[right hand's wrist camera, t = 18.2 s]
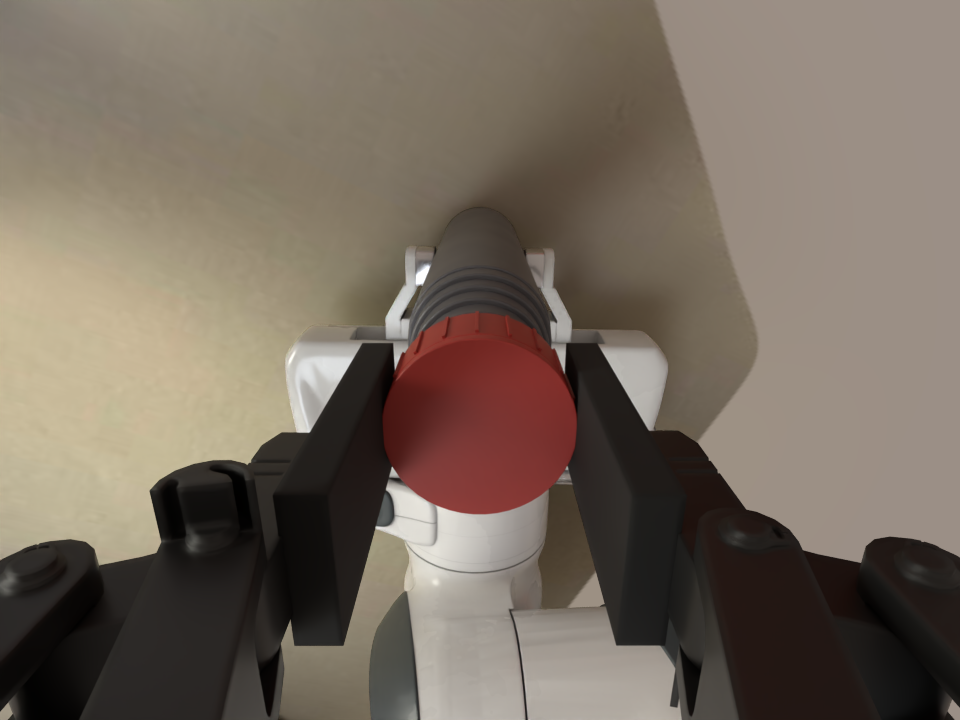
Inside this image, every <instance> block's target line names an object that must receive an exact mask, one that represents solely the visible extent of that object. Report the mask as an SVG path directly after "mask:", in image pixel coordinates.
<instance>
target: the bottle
mask: <svg viewBox="0 0 960 720" xmlns="http://www.w3.org/2000/svg"><path fill="white" fill-rule="evenodd" d="M475 311H479V313H489V314H497V315H501V316H505V317H506V315H509V317H510V318H511V319H514V320H516V321H519V322H521V323H523V324H524V325H526V326H528V327H530V328H531V329H533V328H535V329H536V331H537V333H538V334H539V335H540V336H541V337H542V338H543V339H544V340H545V341H546V342H547V343H548V344H549V346H550V347H551V344H552V338H551V325H550V319H549V315H548V312H547V309H546V306H545V304H544V301H543V299H542V297H541V294H540V292H539V289H538V287H537V284H536V282H535V279H534V277H533V274H532V272H531V269H530V267H529V265H528V262H527V260H526V257H525V255H524V252H523V250H522V247H521V245H520V242H519V240H518V237H517V235H516V233H515V230H514V228H513V226H512V225H511V223H510V222H509V221H508V220H507V218H506V217H504V216H503V215H502V214H500V213H499V212H497V211H495V210H492V209H489V208H483V207H477V208H471V209H467V210H465V211H463V212H461V213H459V214H458V215H457V216H455V217H454V218H453V219H452V220H451V221H450V223H449V224H448V226H447V227H446V229H445V232H444V234H443V237H442V239H441V242H440V244H439V247H438V249H437V251H436V254H435V256H434V259H433V261H432V264H431V266H430V269H429V271H428V273H427V276H426V278H425V281H424V283H423V286H422V288H421V291H420V293H419V296H418V298H417V300H416V303H415V305H414V308H413V310H412V313H411V317H410V321H409V330H408V348H409V346H410V345H411V344H412V342H413V341H414V340H415V339H416V338H417V337H418V336H419V333H420V332H421V331H423V332H424V331H426V330H427V329H428V328H430V327H431V326H433V325H435V324H437V323H439V322H441V321H443V320H445V317H448V316H449V318H451V317H454V316H458V315H462V314H470V313H475Z"/></svg>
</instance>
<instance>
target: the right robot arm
mask: <svg viewBox="0 0 960 720" xmlns="http://www.w3.org/2000/svg"><path fill="white" fill-rule="evenodd" d="M394 372H395V363H394V345H393V343H362V345H361V346H360V348H359V350H358V351H357V353H356V355H355V356H354V358H353V360H352V362H351V363H350V365H349V367H348V368H347V370H346V372H345V373H344V375H343V377H342V378H341V380H340V382H339V383H338V385H337V387H336V389H335V390H334V392H333V394H332V395H331V397H330V399H329V400H328V402H327V404H326V405H325V407H324V409H323V411H322V412H321V414H320V416H319V417H318V419H317V421H316V422H315V424H314V426H313V427H312V429H311V431H310V432H309V433H280V434H279V435H277V436H276V437H274V438H272V439H271V440H269V441H268V442H266V443H265V444H263V445H262V446H261V447H260V449H259V450H258V452H257V453H256V454H255V456H254V457H253V458H252V460H251V463H249V464H248V465H246V464H245V463H240V462H236V461H232V460H213V461H207V462H202V463H197V464H193V465H190V466H187V467H184V468H182V469H179V470H176V471H174V472H172V473H171V474H169V475H167V476H165V477H164V478H162V479H160V480H159V481H158V482H157V483H156V484H155V485H154V486H153V488H152V489H151V490H150V495H151V499H152V503H153V508H154V512H155V516H156V521H157V525H158V529H159V534H160V538H161V544H160V547H159V549H158V551H157V553H155V554H151V555H147V556H143V557H139V558H134V559H129V560H124V561H119V562H114V563H109V564H104V565H100V566H99V564H98V560H97V557H96V553H95V550H94V548H92V547H91V546H90V545H89V544H88V543H86V542H83V541H77V540H71V539H69V540H59V541H49V542H44V543H39V545H37V544H36V545H33V546H30V547H27V548H24V549H22V550H21V551H19V552H17V553H14V554H12V555H10V556H8V557H6V558H4V559H2V560H1V561H0V711H1V710H2V709H3V708H4V707H5V705H6V704H7V703H8V702H9V705H10V707H11V710H12V713H13V714H12V716H11V717H10V718H9V719H8V720H278V719H279V711H280V702H281V694H282V685H283V677H284V662H283V655H282V649H281V642H282V639H283V637H284V634H285V632H286V629H287V627H288V624H289V622H290V619H291V625H292V632H293V639H294V646H343V645H344V642H345V638H346V634H347V631H348V627H349V623H350V620H351V616H352V612H353V609H354V605H355V601H356V598H357V594H358V590H359V586H360V583H361V579H362V575H363V572H364V568H365V564H366V561H367V557H368V553H369V550H370V546H371V542H372V539H373V535H374V531H375V528H376V524H377V520H378V517H379V513H380V509H381V506H382V502H383V498H384V495H385V491H386V487H387V483H388V480H389V476H390V472H391V469H392V465H391V463H390V461H389V459H388V457H387V454H386V451H385V448H384V436H383V420H382V412H383V408H384V404H385V401H386V398H387V395H388V392H389V390H390V387H391V384H392V382H393V379H394V377H393V374H394ZM565 373H566V375H567V377H568V380H569V383H570V385H571V388H572V391H573V393H574V396H575V401H574V403H575V407H576V411H577V430H576V444H575V450H574V452H573V455H572V458H571V460H570V462H569V464H568V470H569V474H570V477H571V481H572V485H573V488H574V492H575V496H576V500H577V503H578V507H579V511H580V514H581V518H582V522H583V525H584V529H585V533H586V536H587V540H588V544H589V547H590V551H591V555H592V558H593V562H594V566H595V569H596V573H597V577H598V581H599V584H600V588H601V591H602V595H603V599H604V603H605V606H606V610H607V614H608V617H609V621H610V625H611V628H612V632H613V636H614V639H615V643H616V646H665V643H666V636H667V629H668V622H669V617H670V620H671V622H672V625H673V627H674V630H675V632H676V635H677V637H678V640H679V642H680V643H679V649H678V655H677V662H676V668H675V674H674V681H673V687H672V693H671V701H670V707H676V708H678V702H679V701H680V710H681V718H682V720H954V719H953V717H952V716H951V715H950V714H949V713H948V712H947V711H948V709H949V706H950V703H951V701H952V699H953V700H954V702H955V703H956V704H957V705H958V706H959V707H960V557H958V556H956V555H954V554H952V553H950V552H948V551H945V550H943V549H941V548H939V547H938V546H936V545H933V544H930V543H927V542H921V541H920V540H914V539H908V538H898V537H885V538H880V539H874V540H873V541H872V542H871V543H869V544H868V545H867V546H866V548H865V552H864V555H863V559H862V562H861V563H858V562H853V561H848V560H844V559H838V558H834V557H829V556H824V555H819V554H815V553H811V552H807V551H804V550H802V548H801V546H800V543H799V541H798V540H797V539H796V537H795V536H794V535H793V534H792V532H791V531H790V530H789V529H788V528H786V527H785V526H783V525H782V524H780V523H779V522H778V521H776V520H775V519H772V518H770V517H767V516H765V515H763V514H760V513H758V512H755V511H750V510H746V509H745V507H744V506H743V505H742V503H741V502H740V500H739V499H738V498H737V496H736V495H735V494H734V492H733V491H732V489H731V488H730V487H729V485H728V484H727V483H726V481H725V480H724V478H723V477H722V476H721V474H720V473H718V472H717V469H716V468H715V466H714V465H713V463H712V462H711V461H709V459H708V457H707V455H706V454H705V453H704V451H703V450H702V448H701V447H700V446H699V444H698V443H697V442H695V441H694V440H692V439H690V438H689V437H687V436H686V435H684V434H683V433H681V432H680V431H649V430H648V428H647V426H646V425H645V423H644V421H643V420H642V418H641V416H640V415H639V413H638V411H637V410H636V408H635V406H634V404H633V403H632V401H631V399H630V398H629V396H628V394H627V393H626V391H625V389H624V388H623V386H622V384H621V382H620V381H619V379H618V377H617V376H616V374H615V372H614V371H613V369H612V367H611V366H610V364H609V362H608V360H607V359H606V357H605V355H604V354H603V352H602V350H601V349H600V347H599V345H598V344H597V343H566V356H565Z"/></svg>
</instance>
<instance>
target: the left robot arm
mask: <svg viewBox="0 0 960 720" xmlns="http://www.w3.org/2000/svg"><path fill="white" fill-rule="evenodd" d="M435 254H436V246H408V247H407V248H406V254H405V271H406V282H405V283H404V285H403V287H402V289H401V291H400V292H399V294H398V296H397V298H396V300H395V301H394V303H393V305H392V307H391V309H390V310H389V312H388V314H387V316H386V318H385V322H386V326H374V325H321V324H320V325H312V326H310V327H309V328H308V329H307V330H306V331H304V332H303V333H302V334H301V335H300V336H299V337H298V338H297V339H296V341H295V342H294V343H293V344H292V346H291V347H290V349H289V350H288V352H287V355H286V358H285V372H286V381H287V388H288V394H289V400H290V405H291V410H292V414H293V419H294V423H295V426H296V430H297V433H309V432H310V431H311V429H312V427H313V426H314V424H315V422H316V421H317V419H318V417H319V416H320V414H321V412H322V411H323V409H324V407H325V405H326V404H327V402H328V400H329V399H330V397H331V395H332V394H333V392H334V390H335V389H336V387H337V385H338V383H339V382H340V380H341V378H342V377H343V375H344V373H345V372H346V370H347V368H348V367H349V365H350V363H351V362H352V360H353V358H354V356H355V355H356V353H357V351H358V350H359V348H360V346H361V345H362V343H393V345H394V363H395V369H396V366H397V364H398V361H399V359H400V356H401V354H402V352H404V353H405V352H406V350H407V349H408V330H409V321H410V317H411V313H412V310H413V308H407V309H406V307H407V306H408V304H409V302H410V300H411V299H412V297H413V295H414V293H415V291H416V290H417V288H418V286H423V283H424V281H425V278H426V276H427V273H428V271H429V269H430V266H431V264H432V261H433V259H434V256H435ZM524 255H525V257H526V260H527V262H528V265H529V267H530V269H531V272H532V274H533V277H534V279H535V282H536V284H537V287H538V288H540V289H541V291H542V293H543V295H544V297H545V299H546V301H547V302H548V304H549V306H550V308H551V310H552V312H551V311H547V312H548V315H549V319H550V325H551V338H552V344H551V348H552V349H553V348H555V350H556V352H557V355H558V357H559V360H560V363H561V366H562V368H563V371H564V374H565V356H566V343H597V344H598V345H599V347H600V349H601V350H602V352H603V354H604V355H605V357H606V359H607V360H608V362H609V364H610V366H611V367H612V369H613V371H614V372H615V374H616V376H617V377H618V379H619V381H620V382H621V384H622V386H623V388H624V389H625V391H626V393H627V394H628V396H629V398H630V399H631V401H632V403H633V404H634V406H635V408H636V410H637V411H638V413H639V415H640V416H641V418H642V420H643V421H644V423H645V425H646V426H647V428H648V430H649V431H656V429H655V427H654V425H655V422H656V419H657V416H658V413H659V409H660V406H661V402H662V398H663V394H664V390H665V385H666V380H667V374H668V361H667V359H666V357H665V355H664V353H663V352H662V350H661V349H660V348H659V346H658V345H657V344H656V343H655V342H654V341H653V340H652V339H651V338H650V337H649V336H648V335H647V334H646V333H645V332H643V331H640V330H599V329H572V320H571V318H570V316H569V314H568V312H567V310H566V308H565V306H564V304H563V302H562V300H561V298H560V296H559V294H558V292H557V290H556V289H555V287H554V285H553V280H554V263H555V256H554V251H553V249H552V248H524ZM553 485H572V481H571V477H570V474H569V470H568V466H567V467H566V469H565V471H564V472H563V474H562V475H561V476H560V478H559V479H558V480H557V481H556V482H555V483H554V484H553ZM548 502H549V489H548V490H547V491H546V492H544V493H543V494H542V495H541V496H539V497H538V498H536V499H534V500H533V501H531V502H529V503H527V504H525V505H523V506H521V507H518V508H515V509H512V510H509V511H505V512H500V513H494V514H465V513H459V512H455V511H450V510H447V509H444V508H441V507H439V506H436V505H434V504H432V503H430V502H428V501H426V500H425V499H423V498H422V497H420V496H419V495H417V494H416V493H415V492H414V491H412V490H411V489H410V488H409V487H408V486H407V485H406V484H405V483H404V482H403V481H402V480H401V479H400V477H399V476H398V474H397V473H396V472H395V470H394V469H393V467H392V469H391V472H390V476H389V480H388V483H387V487H386V491H385V495H384V498H383V502H382V506H381V509H380V513H379V517H378V520H377V524H376V528H375V529H377V530H380V531H383V532H386V533H389V534H391V535H394V536H396V537H399V538H401V539H404V542H405V545H406V548H407V551H408V554H409V558H410V560H409V565H408V568H407V571H406V575H405V581H404V592H403V593H402V594H401V595H400V596H399V598H398V599H397V600H396V601H395V602H394V604H393V605H392V606H391V608H390V610H389V611H388V613H387V614H386V616H385V617H384V619H383V620H382V622H381V623H380V625H379V626H378V628H377V631H376V634H375V637H374V641H373V645H372V650H371V658H370V671H369V694H370V710H371V720H682V718H681V710H680V701H679V702H678V708H676V707H670V701H671V693H672V687H673V681H674V674H675V668H676V662H677V655H678V649H679V643H680V642H679V640H678V637H677V635H676V632H675V630H674V627H673V625H672V622H671V620H670V617H669V622H668V629H667V636H666V643H665V646H616V643H615V639H614V636H613V632H612V628H611V625H610V621H609V617H608V614H607V610H606V606H605V604H604V605H601V606H600V607H580V608H556V609H541V600H542V578H541V573H540V570H539V567H538V558H539V556H540V554H541V551H542V549H543V547H544V543H545V539H546V531H547V517H548Z"/></svg>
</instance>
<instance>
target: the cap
mask: <svg viewBox="0 0 960 720" xmlns="http://www.w3.org/2000/svg"><path fill="white" fill-rule="evenodd" d="M393 377H394V379H393V382H392V384H391V387H390V390H389V392H388V395H387V398H386V401H385V404H384V408H383V412H382V420H383V436H384V448H385V451H386V454H387V457H388V459H389V461H390V463H391V465H392V467H393V469H394V470H395V472H396V473H397V474H398V476H399V477H400V479H401V480H402V481H403V482H404V483H405V484H406V485H407V486H408V487H409V488H410V489H411V490H412V491H414V492H415V493H416V494H417V495H419V496H420V497H422V498H423V499H425V500H426V501H428V502H430V503H432V504H434V505H436V506H439V507H441V508H444V509H447V510H450V511H455V512H459V513H465V514H494V513H500V512H505V511H509V510H512V509H515V508H518V507H521V506H523V505H525V504H527V503H529V502H531V501H533V500H534V499H536V498H538V497H539V496H541V495H542V494H543V493H544V492H546V491H547V490H548V489H549V488H551V486H552V485H553V484H554V483H555V482H556V481H557V480H558V479H559V478H560V476H561V475H562V474H563V472H564V471H565V469H566V467H567V466H568V464H569V462H570V460H571V458H572V455H573V452H574V450H575V444H576V430H577V411H576V407H575V403H574V401H575V396H574V393H573V391H572V388H571V385H570V383H569V380H568V377H567V375H566V373H565V374H564V371H563V368H562V366H561V363H560V360H559V357H558V355H557V352H556V350H555V348H553V349H552V348H551V347H550V346H549V344H548V343H547V342H546V341H545V340H544V339H543V338H542V337H541V336H540V335H539V334H538V333H537V331H536V329H535V328H533V329H531V328H530V327H528V326H526V325H524V324H523V323H521V322H519V321H516V320H514V319H511V318H510V317H509V315H506V317H505V316H501V315H497V314H489V313H479V311H475V313H470V314H462V315H458V316H454V317H451V318H449V316H448V317H445V320H443V321H441V322H439V323H437V324H435V325H433V326H431V327H430V328H428V329H427V330H426V331H424V332H423V331H421V332H420V333H419V336H418V337H417V338H416V339H415V340H414V341H413V342H412V344H411V345H410V346H409V348H408V349H407V350H406V352H405V353H404V352H402V354H401V356H400V359H399V361H398V364H397V366H396V369H395V372H394V374H393Z"/></svg>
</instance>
